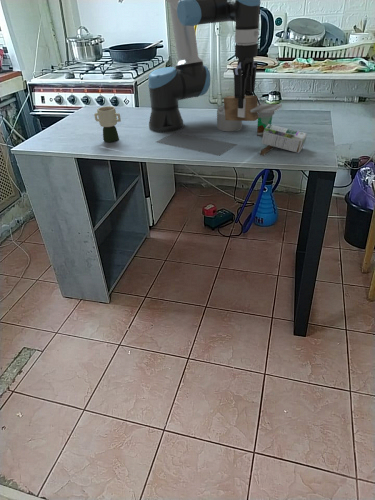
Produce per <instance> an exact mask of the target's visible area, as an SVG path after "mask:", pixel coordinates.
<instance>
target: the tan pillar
mask: <svg viewBox="0 0 375 500" xmlns="http://www.w3.org/2000/svg"><path fill="white" fill-rule="evenodd" d="M245 98H246V109H245V118H242V117H238V98H235V97H234V95H227V96H225V97H223V106H224V108H225V119H226V120H231V121H242V122H255V121H258V113H272V112H274V113H275V112H276V111H277V110H279V109H280V108H281V107H282V103H281V104H279V103H277V104H275V103H274V104H271V103H269V104H265V103H260V104H261V105H260V104H258V95H253V96H252V95H251V96H245Z"/></svg>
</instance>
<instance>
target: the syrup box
mask: <svg viewBox="0 0 375 500" xmlns="http://www.w3.org/2000/svg"><path fill="white" fill-rule="evenodd" d="M306 138H307V132H301V131H299V130H294V129H289V128H287V127H283V126H280V125H279V126H278V125H274V124H271V125H270V124H268V125H267V127H266V128H265V129H264V132H263V135H262V138H261V144H263V145H266V146H268V145H270V146H273V147H274V148H279V149H282V150H284V151H285V150H286V151H290V152H293V153H297V154H300V153H301V151H302V149H303V147H304V144H305V142H306Z"/></svg>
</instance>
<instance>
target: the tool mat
mask: <svg viewBox="0 0 375 500" xmlns="http://www.w3.org/2000/svg"><path fill="white" fill-rule="evenodd" d="M155 143H157V144H163V145H167V146H172V147H176V148H181V149H187V150H190V151H191V150H192V151H196V152H200V153H205V154H210V155H214V156H221V155H224V153H226V152H228V151H229V150H231V149H232V148H234V147H236V146H238V144H237V143H233V142H227V141H223V140H218V139H213V138H207V137H202V136H196V135H191V134H186V133H182V132H181V133H180V132H177V131H173V132H171V134H169V135H167V136H165V137H163V138H161V139H158V140H156V141H155Z"/></svg>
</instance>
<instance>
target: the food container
mask: <svg viewBox="0 0 375 500" xmlns="http://www.w3.org/2000/svg"><path fill="white" fill-rule="evenodd" d="M261 104H262V103H259V105H261ZM274 115H275V111H274V112H272V113H258V119H257V128H256V129H257V130H256V137H258V136H260V137H261V136H263V132H264V129H265V128H266V127H267V125H268V124H270V125H272V120H273V116H274Z"/></svg>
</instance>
